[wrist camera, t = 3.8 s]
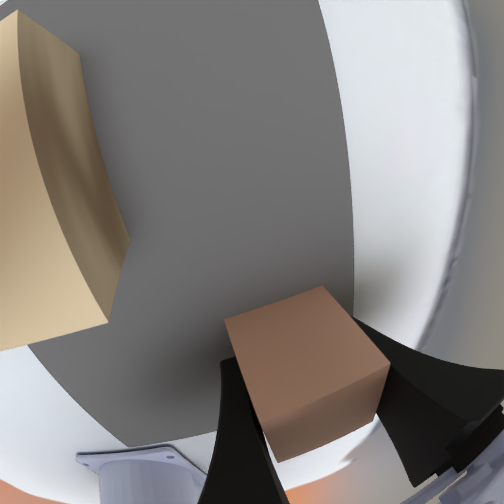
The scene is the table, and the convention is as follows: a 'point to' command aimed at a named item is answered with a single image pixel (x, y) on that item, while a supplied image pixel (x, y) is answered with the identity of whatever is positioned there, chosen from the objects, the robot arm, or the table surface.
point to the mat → (201, 192)
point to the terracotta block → (307, 371)
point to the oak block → (51, 194)
